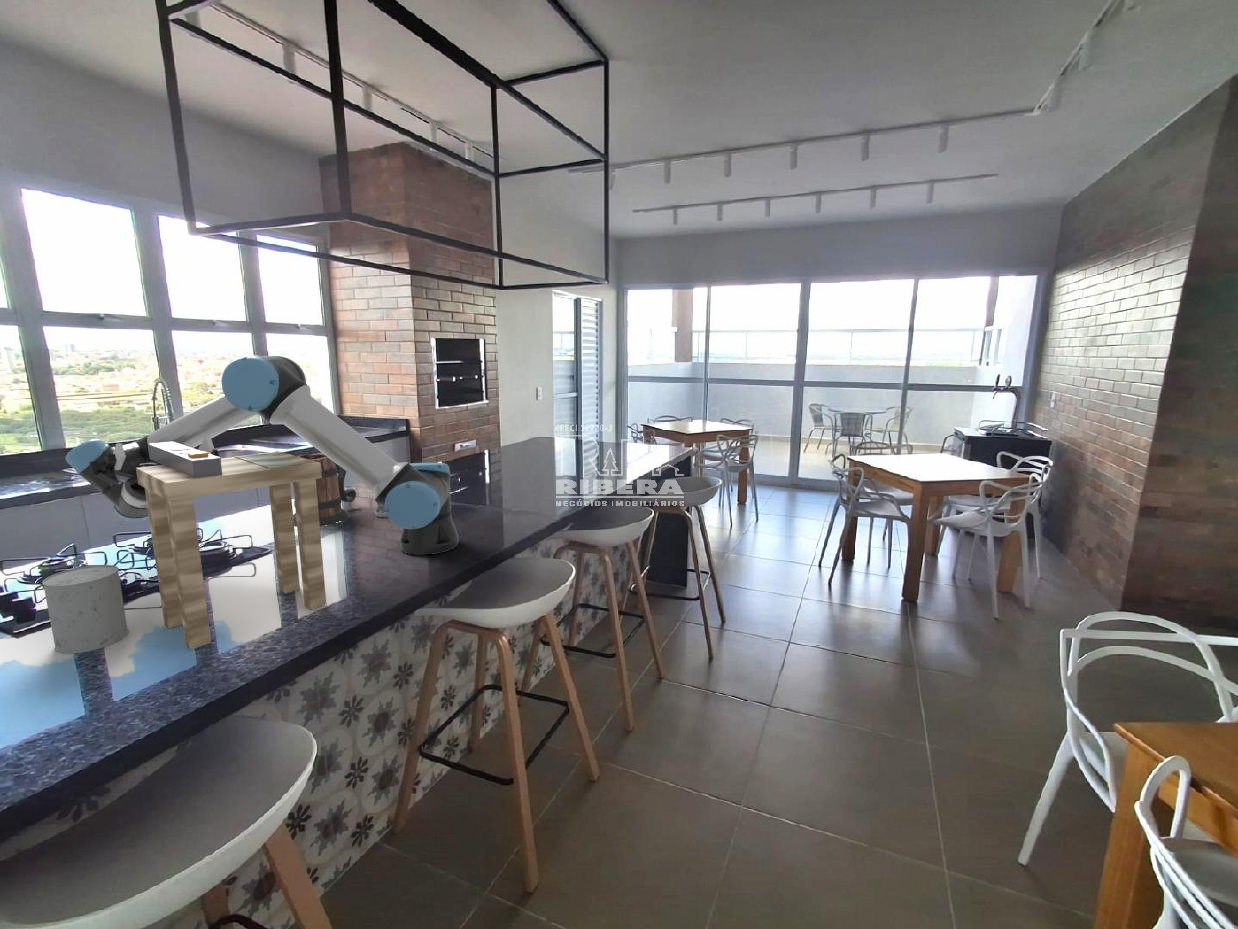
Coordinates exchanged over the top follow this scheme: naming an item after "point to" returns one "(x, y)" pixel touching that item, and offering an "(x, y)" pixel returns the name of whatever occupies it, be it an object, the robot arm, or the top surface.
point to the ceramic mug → (379, 510)
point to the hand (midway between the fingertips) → (167, 445)
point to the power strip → (185, 459)
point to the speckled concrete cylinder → (85, 608)
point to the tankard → (330, 491)
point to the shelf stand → (179, 535)
